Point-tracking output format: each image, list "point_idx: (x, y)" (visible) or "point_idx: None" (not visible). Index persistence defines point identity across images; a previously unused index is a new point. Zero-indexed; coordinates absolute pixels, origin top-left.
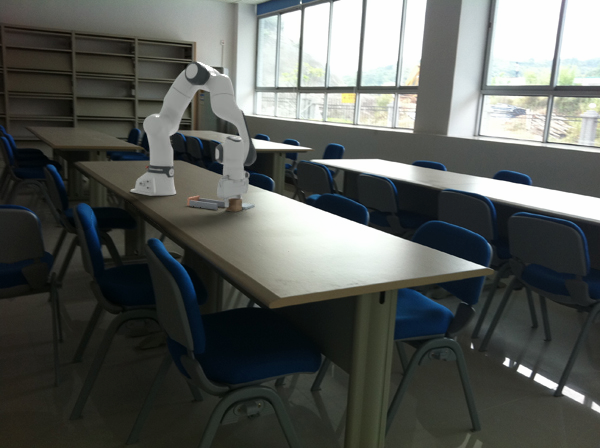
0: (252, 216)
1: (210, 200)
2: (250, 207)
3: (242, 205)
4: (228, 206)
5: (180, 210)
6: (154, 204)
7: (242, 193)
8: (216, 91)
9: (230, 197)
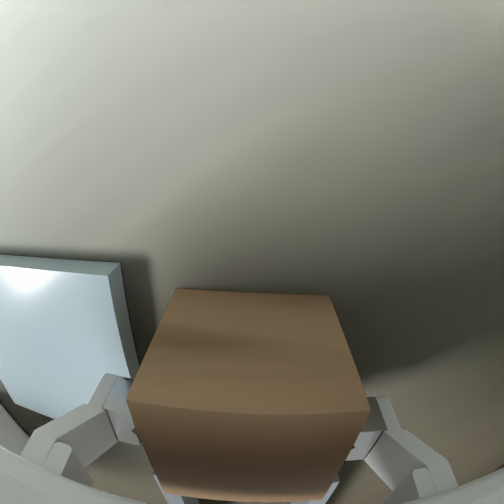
0: (470, 23)
1: None
2: (14, 257)
3: (56, 342)
4: (384, 398)
5: None
6: None
7: (16, 464)
8: None
9: (12, 450)
